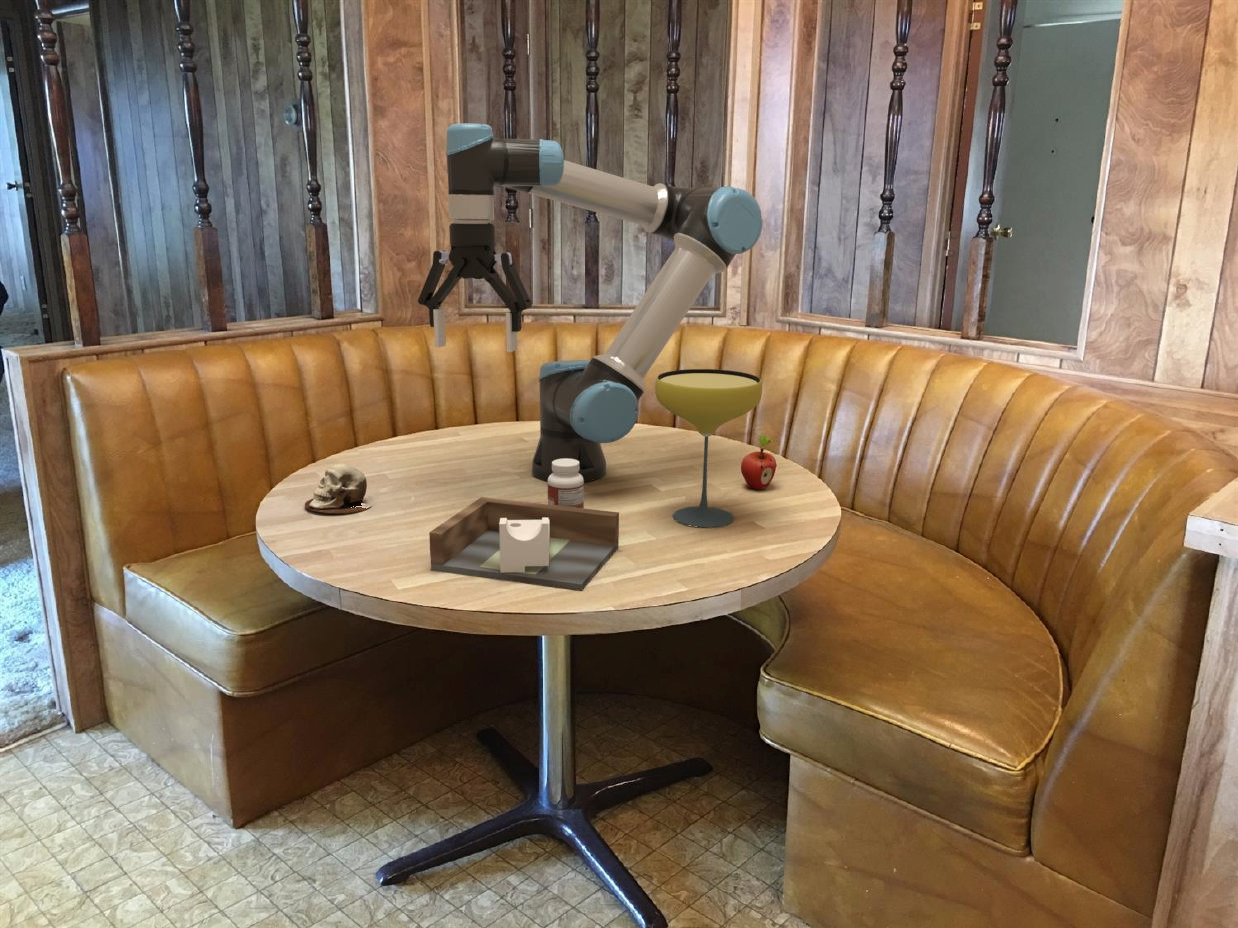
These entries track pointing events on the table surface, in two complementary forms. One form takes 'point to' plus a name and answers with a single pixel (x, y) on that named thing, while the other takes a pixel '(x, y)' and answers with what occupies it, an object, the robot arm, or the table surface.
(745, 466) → the apple
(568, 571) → the tray
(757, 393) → the cocktail glass
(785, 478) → the table surface
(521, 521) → the bracket
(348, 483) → the skull
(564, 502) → the pill bottle
